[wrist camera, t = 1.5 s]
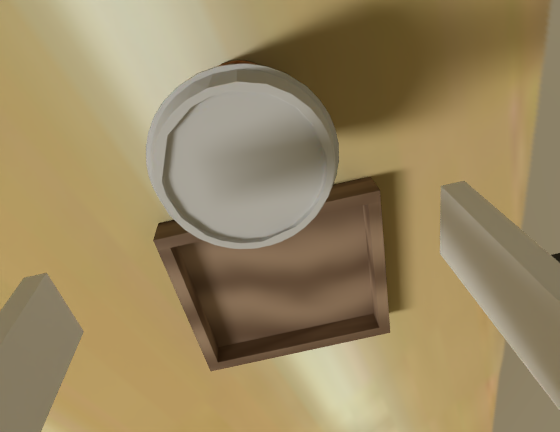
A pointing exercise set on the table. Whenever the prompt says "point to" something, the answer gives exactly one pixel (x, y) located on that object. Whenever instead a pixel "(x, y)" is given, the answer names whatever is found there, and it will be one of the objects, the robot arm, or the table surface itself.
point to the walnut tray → (285, 283)
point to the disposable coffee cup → (242, 155)
